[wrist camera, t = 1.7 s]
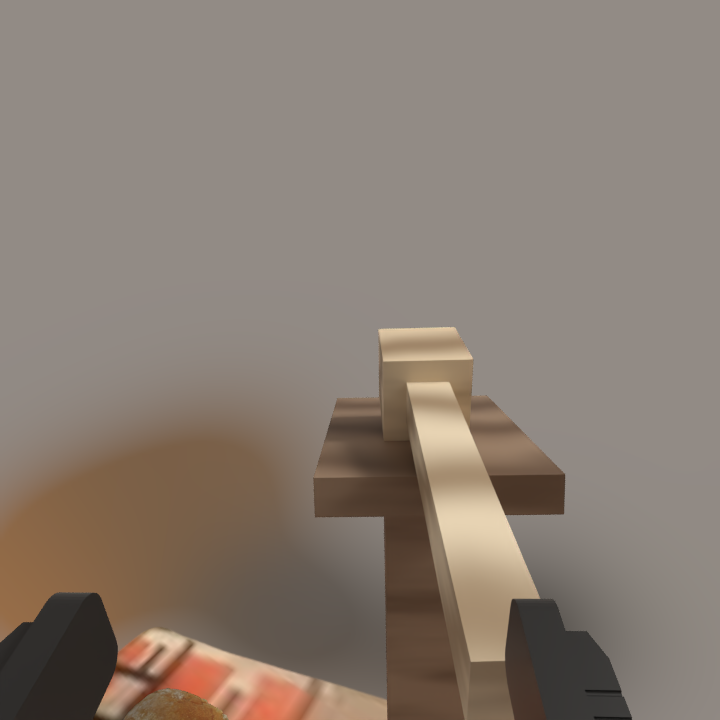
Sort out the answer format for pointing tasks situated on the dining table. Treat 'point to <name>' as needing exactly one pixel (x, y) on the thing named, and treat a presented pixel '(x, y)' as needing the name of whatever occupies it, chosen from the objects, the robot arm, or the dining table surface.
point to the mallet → (456, 507)
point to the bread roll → (174, 707)
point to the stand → (421, 534)
